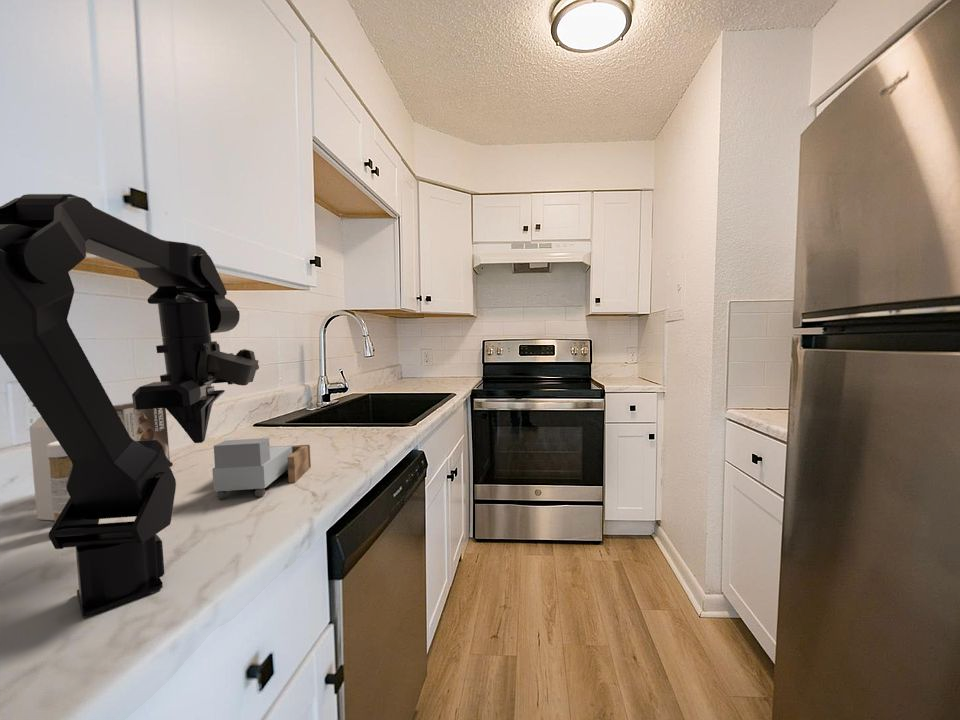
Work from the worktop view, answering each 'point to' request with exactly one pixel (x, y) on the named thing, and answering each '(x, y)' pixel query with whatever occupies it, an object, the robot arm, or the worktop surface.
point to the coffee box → (145, 424)
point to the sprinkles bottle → (58, 476)
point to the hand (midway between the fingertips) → (199, 442)
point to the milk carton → (42, 468)
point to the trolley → (248, 465)
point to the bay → (298, 462)
